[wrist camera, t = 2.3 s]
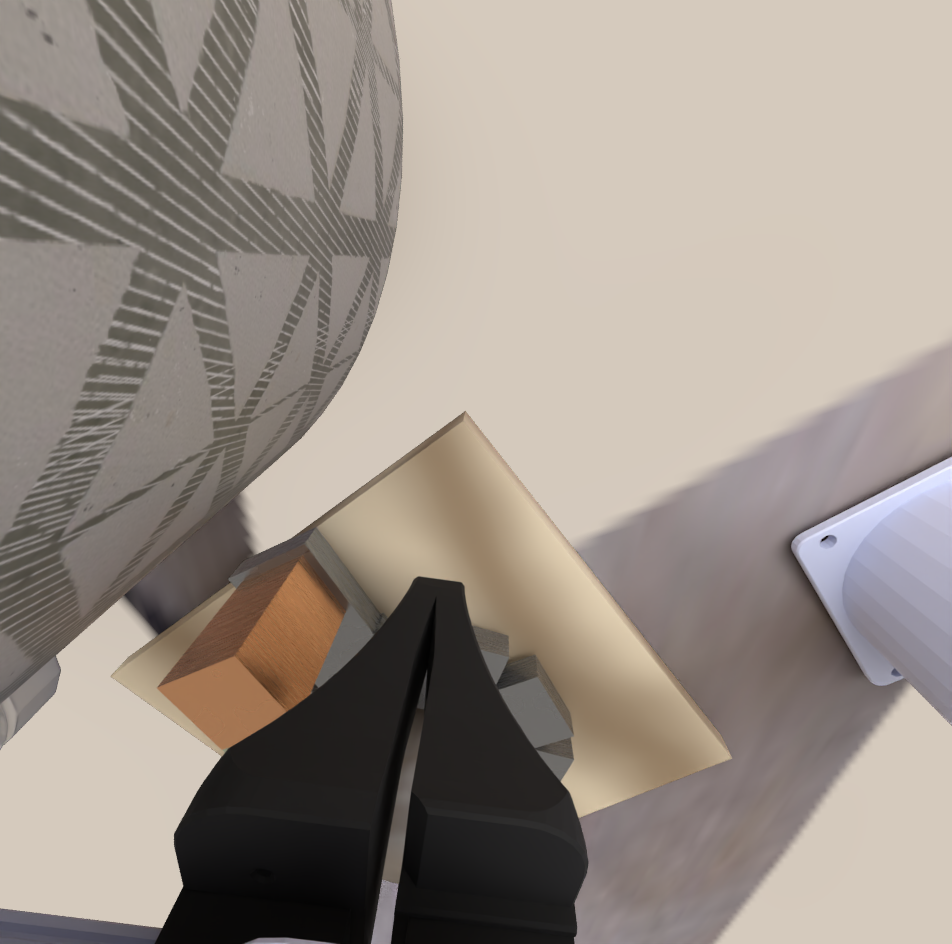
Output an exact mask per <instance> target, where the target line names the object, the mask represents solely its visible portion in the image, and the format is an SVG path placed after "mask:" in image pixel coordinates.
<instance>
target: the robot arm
mask: <svg viewBox="0 0 952 944" xmlns="http://www.w3.org/2000/svg"><path fill="white" fill-rule="evenodd" d="M828 535H829V536H828ZM825 536H828V538H827V539H826V540H824V541H822V542H820V541H821V539H822V538H824V537H825ZM791 548H792V551H793V553H794V555H795V557H796V558H797V560H798V562H799V563H800V565H801V567H802V569H803V570H804V572H805V574H806V575H807V577H808V579H809V581H810V582H811V584H812V586H813V587H814V589H815V591H816V593H817V594H818V596H819V598H820V599H821V601H822V603H823V605H824V606H825V608H826V610H827V611H828V613H829V615H830V617H831V618H832V620H833V622H834V623H835V625H836V627H837V629H838V630H839V632H840V634H841V635H842V637H843V639H844V641H845V642H846V644H847V646H848V647H849V649H850V651H851V653H852V654H853V656H854V658H855V659H856V661H857V663H858V665H859V666H860V668H861V670H862V671H863V673H864V675H865V676H866V677H867V678H868V679H869V681H870V682H871V683H872V684H874V685H878V686H884V685H888V684H891V683H894V682H896V681H899V680H901V679H904V678H905V679H906V680H907V681H908V682H909V683H910V684H911V685H912V686H913V687H914V688H915V689H916V690H917V691H918V692H919V693H920V694H921V695H922V696H923V697H924V698H925V699H926V700H927V701H928V702H929V703H930V704H931V705H932V706H933V707H934V708H935V709H936V710H937V711H938V712H939V713H940V714H941V715H942V716H943V717H944V718H945V719H946V720H947V721H948V722H949V723H950V724H951V725H952V457H950V458H948V459H946V460H944V461H942V462H940V463H938V464H936V465H934V466H932V467H930V468H929V469H927V470H925V471H923V472H921V473H919V474H917V475H915V476H913V477H911V478H909V479H907V480H905V481H903V482H901V483H899V484H897V485H895V486H893V487H891V488H889V489H887V490H885V491H883V492H881V493H879V494H877V495H875V496H873V497H871V498H869V499H868V500H866V501H864V502H862V503H860V504H858V505H856V506H854V507H852V508H850V509H848V510H846V511H844V512H842V513H840V514H838V515H836V516H834V517H832V518H830V519H828V520H826V521H824V522H822V523H820V524H818V525H816V526H814V527H812V528H810V529H809V530H807V531H805V532H803V533H801V534H799V535H798V536H796V537H795V539H794V540H793V541H792V545H791ZM426 672H427V678H426V693H425V707H424V721H423V727H422V732H421V738H420V744H419V749H418V755H417V761H416V766H415V772H414V777H413V783H412V788H411V795H410V803H409V812H408V820H407V828H406V836H405V844H404V852H403V860H402V867H401V874H400V880H399V886H398V892H397V899H396V905H395V912H394V923H393V931H392V940H391V944H575V943H574V937H575V936H576V934H577V922H576V914H575V906H574V903H575V900H576V898H577V895H578V893H579V891H580V888H581V886H582V884H583V881H584V879H585V876H586V874H587V868H588V858H587V850H586V845H585V840H584V836H583V832H582V829H581V825H580V822H579V818H578V815H577V812H576V809H575V806H574V803H573V800H572V797H571V794H570V792H569V791H568V790H567V788H566V787H565V786H564V785H563V784H562V783H561V781H560V780H559V779H558V778H557V777H556V775H555V774H554V773H553V772H552V770H551V769H550V768H549V767H548V765H547V764H546V763H545V761H544V760H543V759H542V757H541V756H540V755H539V753H538V752H537V751H536V749H535V748H534V746H533V745H532V744H531V742H530V741H529V739H528V738H527V736H526V735H525V733H524V732H523V730H522V729H521V727H520V725H519V724H518V722H517V721H516V719H515V718H514V716H513V715H512V713H511V711H510V710H509V708H508V706H507V704H506V703H505V701H504V699H503V697H502V695H501V694H500V692H499V690H498V688H497V686H496V684H495V682H494V680H493V678H492V676H491V673H490V671H489V669H488V667H487V664H486V662H485V660H484V657H483V655H482V652H481V650H480V647H479V644H478V642H477V639H476V636H475V632H474V629H473V626H472V623H471V620H470V616H469V612H468V608H467V603H466V597H465V586H464V585H463V583H462V582H457V581H450V580H443V579H435V578H428V577H421V576H418V577H416V578H415V579H414V580H413V582H412V584H411V586H410V588H409V589H408V591H407V593H406V594H405V596H404V597H403V599H402V600H401V602H400V603H399V604H398V606H397V607H396V609H395V610H394V611H393V612H392V614H391V615H390V616H389V618H388V619H387V620H386V621H385V623H384V624H383V625H382V626H381V628H380V629H379V630H378V631H377V632H376V633H375V634H374V636H373V637H372V638H371V639H370V640H369V641H368V642H367V643H366V645H365V646H364V647H363V648H362V649H361V650H360V651H359V652H358V653H357V654H356V655H355V656H354V657H353V658H352V659H351V660H350V661H349V662H348V663H347V664H346V665H344V666H343V667H342V668H341V669H340V670H339V671H338V672H337V673H336V674H334V675H333V676H332V677H331V678H330V679H329V680H327V681H326V682H325V683H324V684H323V685H322V686H320V687H319V688H318V689H317V690H315V691H314V692H313V693H312V694H310V695H309V696H308V697H306V698H305V699H304V700H302V701H301V702H299V703H298V704H297V705H295V706H294V707H292V708H291V709H290V710H288V711H287V712H286V713H284V714H283V715H281V716H280V717H279V718H277V719H276V720H274V721H272V722H271V723H269V724H268V725H266V726H265V727H263V728H261V729H260V730H258V731H256V732H255V733H253V734H251V735H250V736H248V737H246V738H245V739H243V740H242V741H240V742H238V743H237V744H235V745H233V746H231V747H230V748H228V750H227V751H226V752H225V753H224V755H223V756H222V757H221V759H220V760H219V761H218V762H217V764H216V765H215V767H214V768H213V769H212V771H211V772H210V774H209V775H208V776H207V778H206V779H205V780H204V782H203V784H202V785H201V787H200V788H199V790H198V791H197V793H196V795H195V797H194V798H193V800H192V802H191V804H190V806H189V808H188V809H187V811H186V813H185V815H184V817H183V818H182V821H181V822H180V824H179V826H178V828H177V830H176V831H175V833H174V847H175V852H176V856H177V860H178V864H179V868H180V873H181V877H182V882H183V888H182V890H181V892H180V894H179V896H178V898H177V900H176V902H175V904H174V906H173V908H172V910H171V912H170V914H169V916H168V918H167V920H166V922H165V924H164V926H163V928H156V927H147V926H139V925H131V924H123V923H115V922H106V921H98V920H90V919H82V918H74V917H65V916H57V915H49V914H41V913H32V912H25V911H16V910H8V909H0V944H371V940H372V935H373V929H374V923H375V917H376V911H377V905H378V899H379V894H380V888H381V882H382V877H383V871H384V865H385V859H386V854H387V848H388V842H389V836H390V831H391V825H392V820H393V814H394V808H395V803H396V797H397V791H398V786H399V780H400V775H401V769H402V764H403V759H404V755H405V751H406V746H407V743H408V739H409V735H410V731H411V728H412V724H413V720H414V716H415V713H416V709H417V705H418V702H419V698H420V694H421V690H422V687H423V683H424V679H425V675H426Z"/></svg>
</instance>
